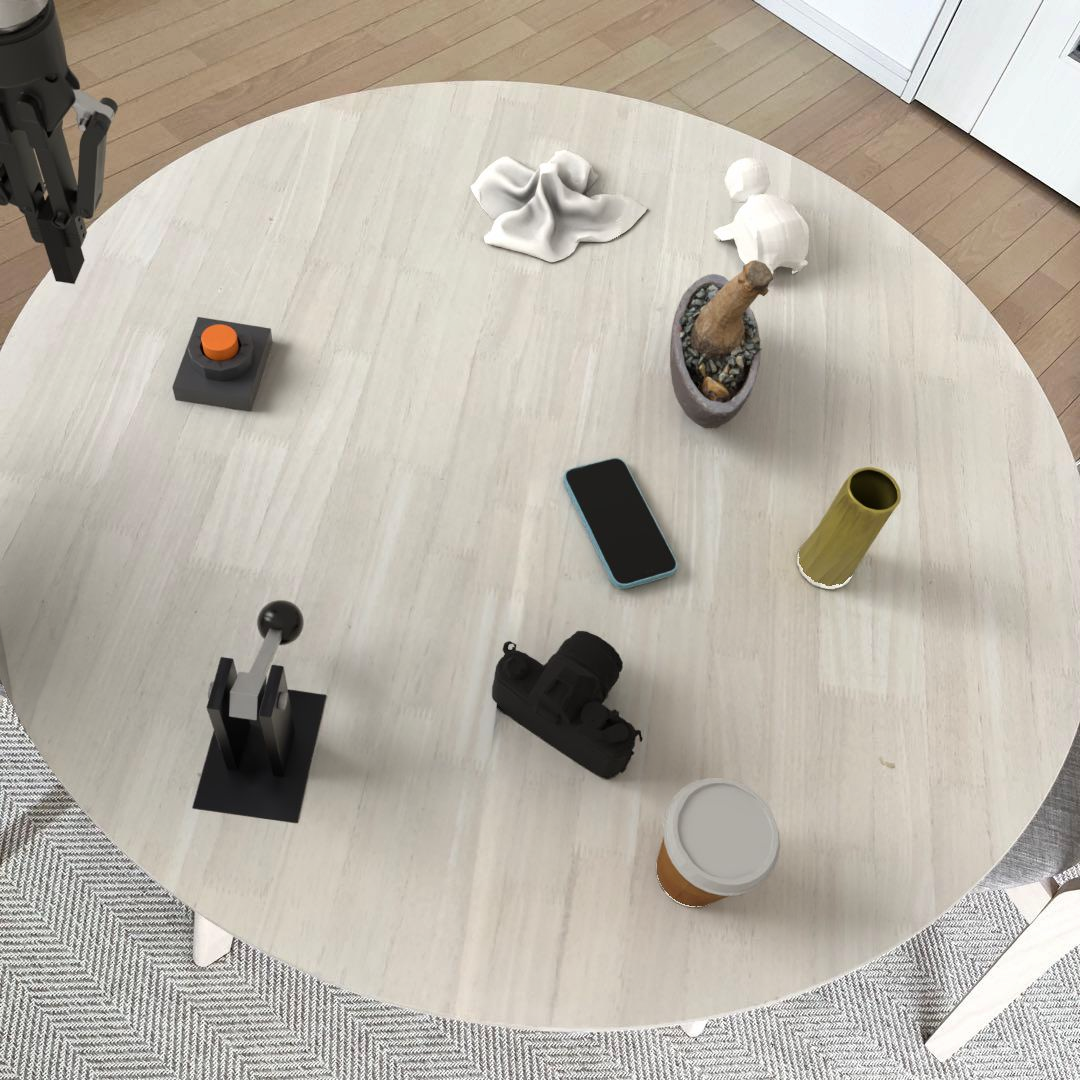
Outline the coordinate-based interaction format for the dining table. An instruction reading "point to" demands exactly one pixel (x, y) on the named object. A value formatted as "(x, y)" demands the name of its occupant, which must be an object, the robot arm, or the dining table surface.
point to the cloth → (546, 206)
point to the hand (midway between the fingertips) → (70, 270)
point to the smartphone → (620, 523)
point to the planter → (717, 345)
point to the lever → (265, 656)
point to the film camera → (569, 701)
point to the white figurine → (763, 220)
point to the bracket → (259, 750)
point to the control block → (223, 368)
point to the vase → (849, 526)
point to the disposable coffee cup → (716, 842)
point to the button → (220, 342)
